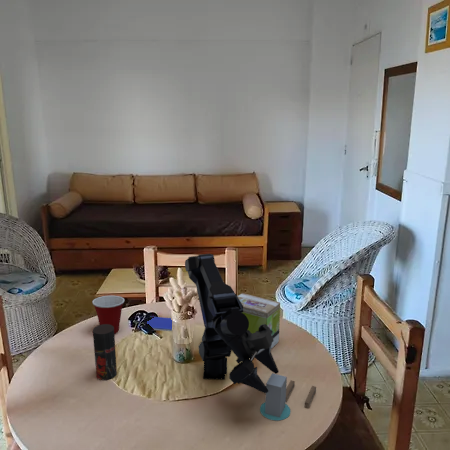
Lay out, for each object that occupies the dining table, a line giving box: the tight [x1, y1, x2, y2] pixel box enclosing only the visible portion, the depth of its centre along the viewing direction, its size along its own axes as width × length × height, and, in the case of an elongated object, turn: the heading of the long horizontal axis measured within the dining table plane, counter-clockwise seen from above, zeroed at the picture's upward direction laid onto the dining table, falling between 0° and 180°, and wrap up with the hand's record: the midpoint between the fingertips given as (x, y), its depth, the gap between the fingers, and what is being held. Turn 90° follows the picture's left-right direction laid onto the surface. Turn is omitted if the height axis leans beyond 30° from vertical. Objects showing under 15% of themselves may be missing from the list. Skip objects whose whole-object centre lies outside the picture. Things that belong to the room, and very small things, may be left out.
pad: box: [259, 401, 292, 421], centre depth 121 cm, size 8×8×1 cm
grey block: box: [264, 372, 288, 418], centre depth 120 cm, size 4×5×9 cm
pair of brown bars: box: [286, 379, 317, 409], centre depth 127 cm, size 7×8×2 cm
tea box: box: [237, 292, 281, 350], centre depth 153 cm, size 15×10×15 cm
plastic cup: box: [92, 295, 125, 335], centre depth 160 cm, size 11×11×12 cm
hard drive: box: [137, 316, 173, 332], centre depth 166 cm, size 2×8×12 cm
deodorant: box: [92, 324, 118, 381], centre depth 134 cm, size 6×6×15 cm
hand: (272, 382), depth 120 cm, fingers open, 9 cm apart
